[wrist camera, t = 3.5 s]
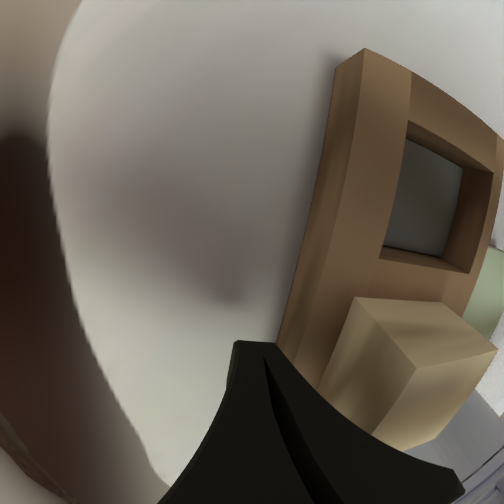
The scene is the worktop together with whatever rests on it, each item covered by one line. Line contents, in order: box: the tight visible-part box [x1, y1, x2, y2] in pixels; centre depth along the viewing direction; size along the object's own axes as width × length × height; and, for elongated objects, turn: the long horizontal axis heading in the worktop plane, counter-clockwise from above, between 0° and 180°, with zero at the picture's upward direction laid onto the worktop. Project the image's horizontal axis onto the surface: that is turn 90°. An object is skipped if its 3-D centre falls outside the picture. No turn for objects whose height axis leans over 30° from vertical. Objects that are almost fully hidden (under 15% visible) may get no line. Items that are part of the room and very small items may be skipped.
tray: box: [276, 48, 504, 390], centre depth 12 cm, size 22×14×2 cm, turn 170°
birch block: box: [316, 297, 499, 452], centre depth 8 cm, size 5×5×4 cm
